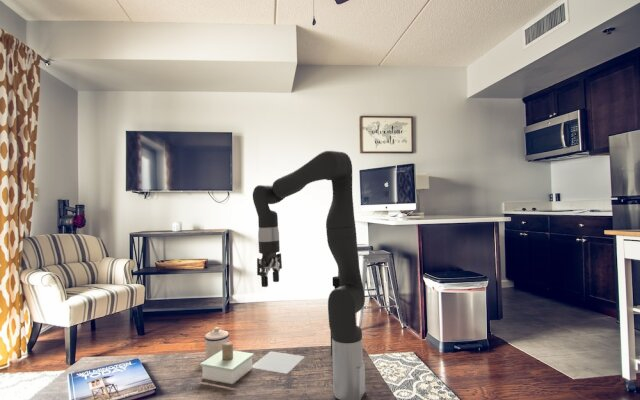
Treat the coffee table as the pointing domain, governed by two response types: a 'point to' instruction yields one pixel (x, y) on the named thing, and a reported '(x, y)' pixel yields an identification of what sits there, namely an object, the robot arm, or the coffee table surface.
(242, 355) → the lid
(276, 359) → the mat
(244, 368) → the dish
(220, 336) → the teacup with lid
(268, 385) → the coffee table surface
